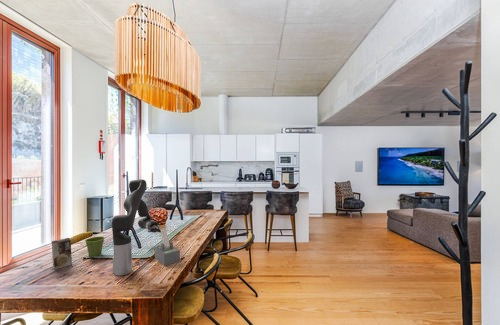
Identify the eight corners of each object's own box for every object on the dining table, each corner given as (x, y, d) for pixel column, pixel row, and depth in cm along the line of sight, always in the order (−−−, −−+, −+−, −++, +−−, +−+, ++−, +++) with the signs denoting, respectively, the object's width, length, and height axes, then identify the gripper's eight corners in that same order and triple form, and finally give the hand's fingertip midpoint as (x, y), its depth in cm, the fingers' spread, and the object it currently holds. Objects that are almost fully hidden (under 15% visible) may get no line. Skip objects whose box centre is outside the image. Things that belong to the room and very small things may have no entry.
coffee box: (70, 262, 162) (69, 237, 162) (72, 265, 158) (71, 239, 158) (52, 266, 156) (51, 240, 156) (53, 269, 151) (52, 243, 151)
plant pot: (96, 259, 167) (95, 242, 166) (80, 258, 169) (80, 241, 169) (109, 252, 178) (108, 236, 178) (95, 251, 180) (94, 235, 180)
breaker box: (155, 258, 166) (154, 241, 165) (170, 254, 172) (169, 238, 172) (164, 266, 153) (163, 248, 153) (179, 261, 160) (179, 244, 160)
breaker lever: (164, 249, 162) (158, 226, 168) (169, 247, 164) (164, 225, 170) (165, 247, 160) (159, 225, 166) (170, 246, 162) (165, 224, 168)
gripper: (143, 222, 178) (151, 227, 165) (161, 219, 186) (170, 223, 173) (143, 233, 178) (151, 238, 165) (161, 229, 187) (171, 234, 173)
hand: (161, 231), depth 169 cm, fingers closed
